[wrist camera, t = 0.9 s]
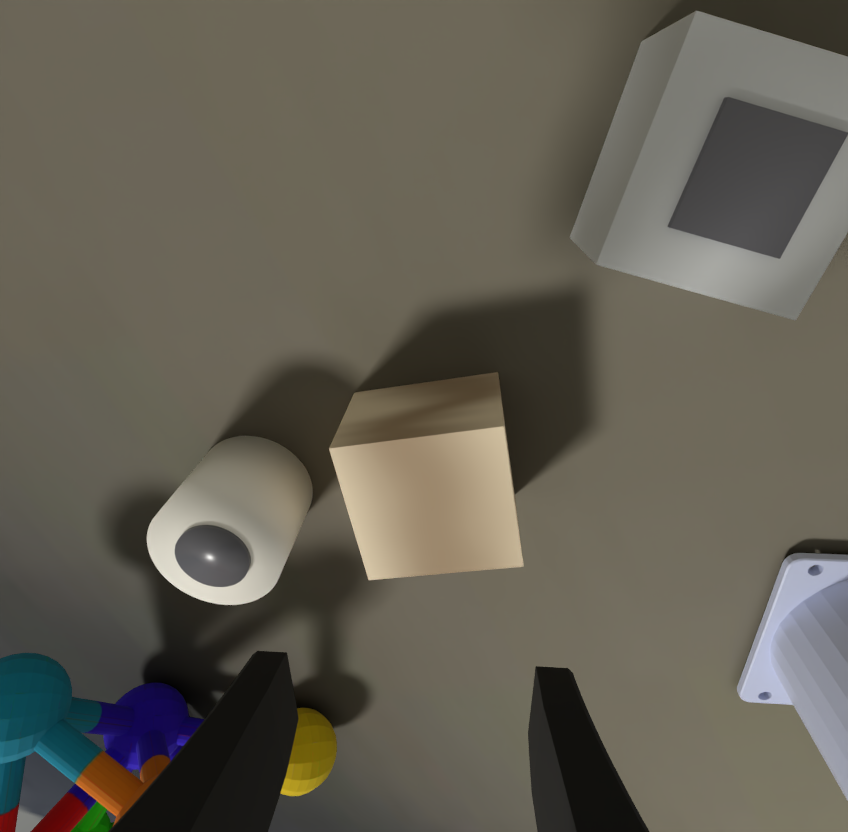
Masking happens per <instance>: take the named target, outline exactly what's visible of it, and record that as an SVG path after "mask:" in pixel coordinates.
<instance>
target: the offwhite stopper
mask: <svg viewBox="0 0 848 832" xmlns="http://www.w3.org/2000/svg"><path fill="white" fill-rule="evenodd" d="M312 497H313V487H312V482H311V479H310V476H309V474H308V472H307V470H306V468H305V467H304V465H303V464H302V462H301V461H300V460H299V459H298V458H297V457H296V456H295V455H294V454H293V453H292V452H291V451H289V450H288V449H287V448H285V447H283V446H282V445H280V444H278V443H276V442H274V441H271V440H269V439H265V438H262V437H257V436H236V437H231V438H228V439H225V440H223V441H221V442H219V443H218V444H216V445H215V446H214V447H212V448H211V449H210V450H209V452H208V453H207V454H206V455H205V456H204V458H203V459H202V460H201V461H200V462H199V464H198V465H197V466H196V467H195V468H194V470H193V471H192V472H191V473H190V474H189V476H188V477H187V478H186V479H185V480H184V482H183V483H182V484H181V485H180V486H179V488H178V489H177V490H176V491H175V492H174V494H173V495H172V496H171V497H170V498H169V500H168V501H167V502H166V503H165V504H164V506H163V507H162V508H161V509H160V510H159V512H158V513H157V514H156V515H155V517H154V518H153V519H152V521H151V523H150V525H149V528H148V532H147V546H148V551H149V554H150V556H151V559H152V561H153V563H154V564H155V566H156V567H157V569H158V570H159V572H160V573H161V574H162V575H163V576H164V577H165V578H166V579H167V580H168V581H169V582H170V583H171V584H172V585H174V586H175V587H177V588H178V589H179V590H181V591H183V592H184V593H186V594H188V595H190V596H192V597H195V598H197V599H200V600H203V601H206V602H209V603H215V604H222V605H238V604H245V603H249V602H252V601H255V600H257V599H259V598H261V597H263V596H264V595H266V594H267V593H268V592H270V591H271V590H272V589H273V587H274V586H275V584H276V583H277V581H278V579H279V577H280V574H281V572H282V570H283V567H284V565H285V563H286V561H287V558H288V556H289V554H290V551H291V549H292V547H293V544H294V542H295V540H296V538H297V535H298V533H299V531H300V528H301V526H302V524H303V521H304V519H305V517H306V514H307V512H308V510H309V508H310V505H311V502H312Z"/></svg>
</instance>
